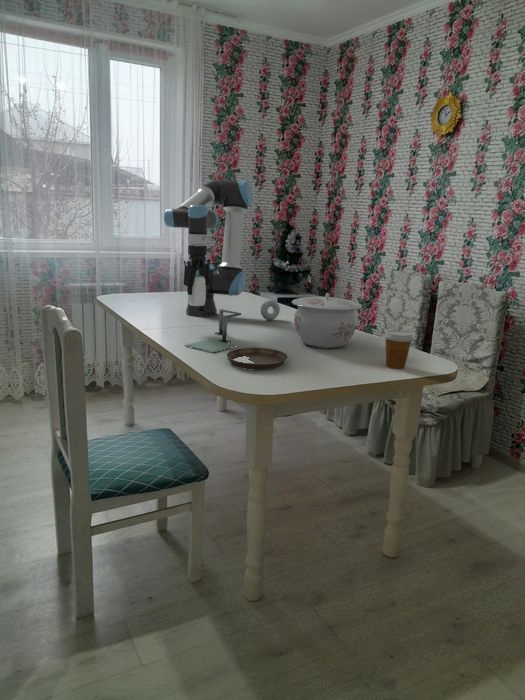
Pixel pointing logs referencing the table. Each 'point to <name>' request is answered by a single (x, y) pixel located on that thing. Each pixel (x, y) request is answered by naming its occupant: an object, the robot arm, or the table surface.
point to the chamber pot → (325, 321)
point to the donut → (265, 309)
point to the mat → (211, 345)
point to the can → (199, 291)
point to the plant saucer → (258, 358)
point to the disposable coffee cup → (397, 348)
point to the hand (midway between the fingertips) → (197, 301)
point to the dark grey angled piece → (225, 324)
